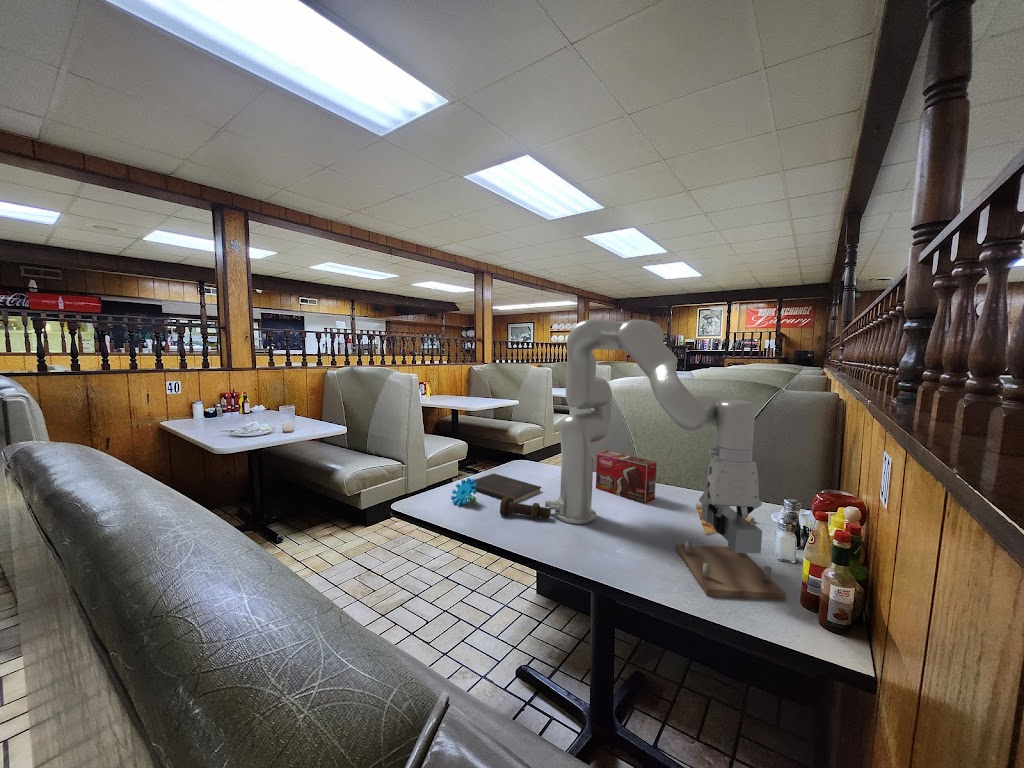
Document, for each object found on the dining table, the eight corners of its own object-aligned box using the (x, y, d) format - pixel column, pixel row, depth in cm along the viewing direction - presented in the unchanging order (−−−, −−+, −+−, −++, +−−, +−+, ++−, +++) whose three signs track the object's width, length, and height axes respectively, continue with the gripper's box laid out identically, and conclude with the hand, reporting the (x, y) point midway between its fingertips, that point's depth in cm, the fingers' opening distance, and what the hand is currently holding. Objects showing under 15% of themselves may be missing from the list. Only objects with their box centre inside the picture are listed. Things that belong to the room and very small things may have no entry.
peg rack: (706, 595, 88) (708, 575, 87) (675, 549, 108) (676, 533, 107) (785, 600, 87) (787, 579, 86) (739, 553, 107) (740, 536, 106)
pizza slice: (661, 516, 130) (661, 510, 130) (709, 505, 140) (709, 499, 140) (705, 537, 116) (705, 530, 116) (754, 523, 126) (755, 517, 126)
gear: (445, 495, 139) (465, 472, 141) (455, 504, 142) (475, 481, 144) (460, 510, 130) (481, 485, 132) (471, 520, 133) (491, 495, 135)
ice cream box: (595, 488, 153) (597, 453, 152) (605, 485, 158) (607, 450, 156) (644, 504, 139) (646, 465, 137) (654, 500, 143) (656, 462, 142)
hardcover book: (493, 478, 163) (493, 473, 163) (541, 493, 149) (541, 486, 149) (463, 489, 151) (464, 482, 151) (512, 505, 137) (512, 498, 136)
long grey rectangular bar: (735, 552, 87) (736, 529, 87) (701, 517, 105) (702, 498, 105) (760, 553, 87) (762, 530, 87) (722, 518, 105) (723, 499, 104)
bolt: (548, 526, 124) (500, 518, 128) (551, 513, 128) (505, 505, 132) (548, 514, 121) (498, 506, 125) (551, 500, 125) (503, 493, 129)
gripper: (702, 457, 91) (697, 538, 93) (780, 459, 90) (774, 541, 92) (689, 449, 99) (685, 524, 100) (761, 451, 98) (756, 526, 99)
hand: (728, 531), depth 96 cm, fingers closed on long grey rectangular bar, 3 cm apart
